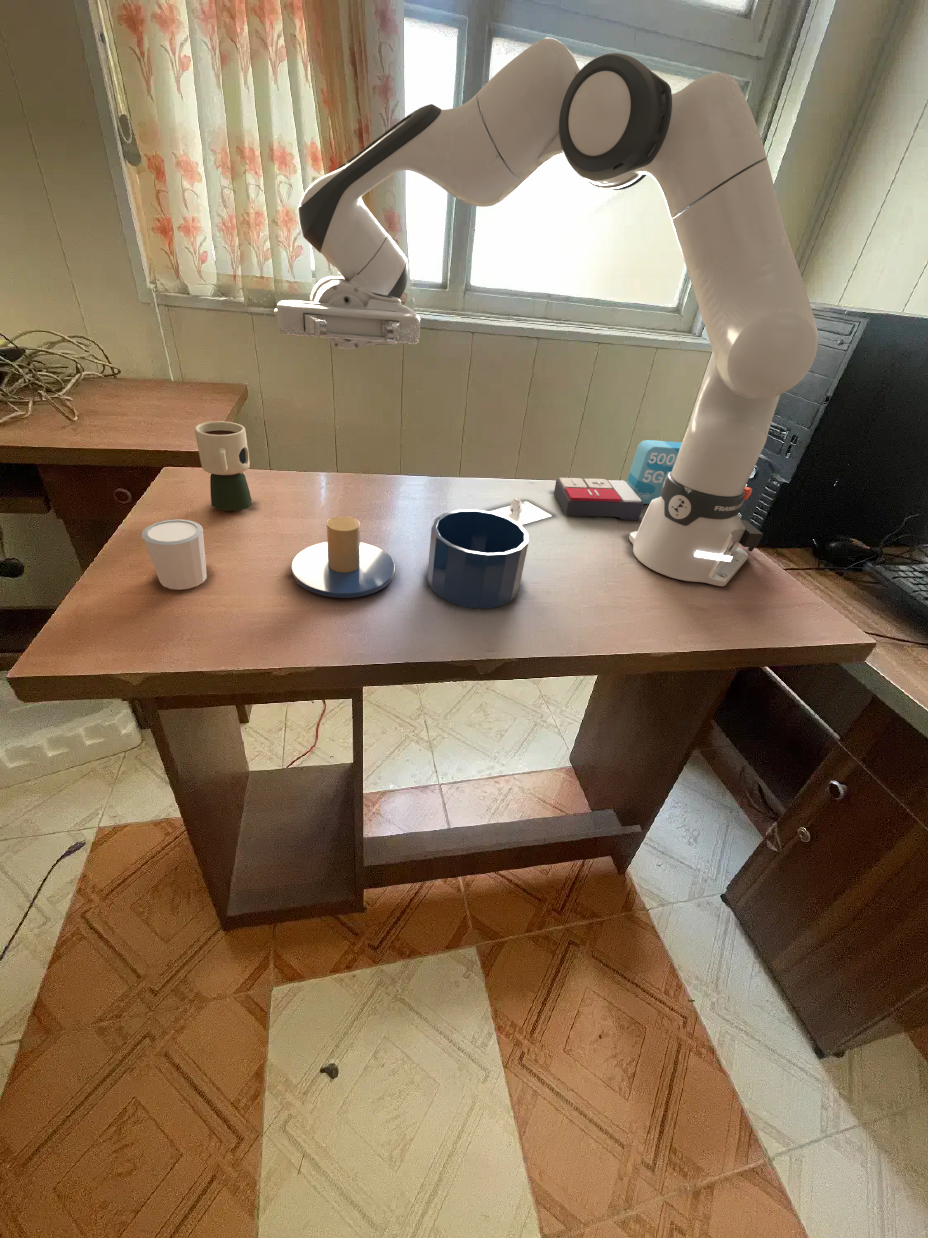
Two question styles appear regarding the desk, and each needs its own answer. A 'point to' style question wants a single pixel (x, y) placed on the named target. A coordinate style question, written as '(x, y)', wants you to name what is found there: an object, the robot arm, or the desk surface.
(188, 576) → the white tapered cup
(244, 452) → the character mug
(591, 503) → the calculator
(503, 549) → the pot
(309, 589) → the lid
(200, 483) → the desk surface
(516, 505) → the adhesive hook
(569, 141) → the robot arm
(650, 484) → the data package
